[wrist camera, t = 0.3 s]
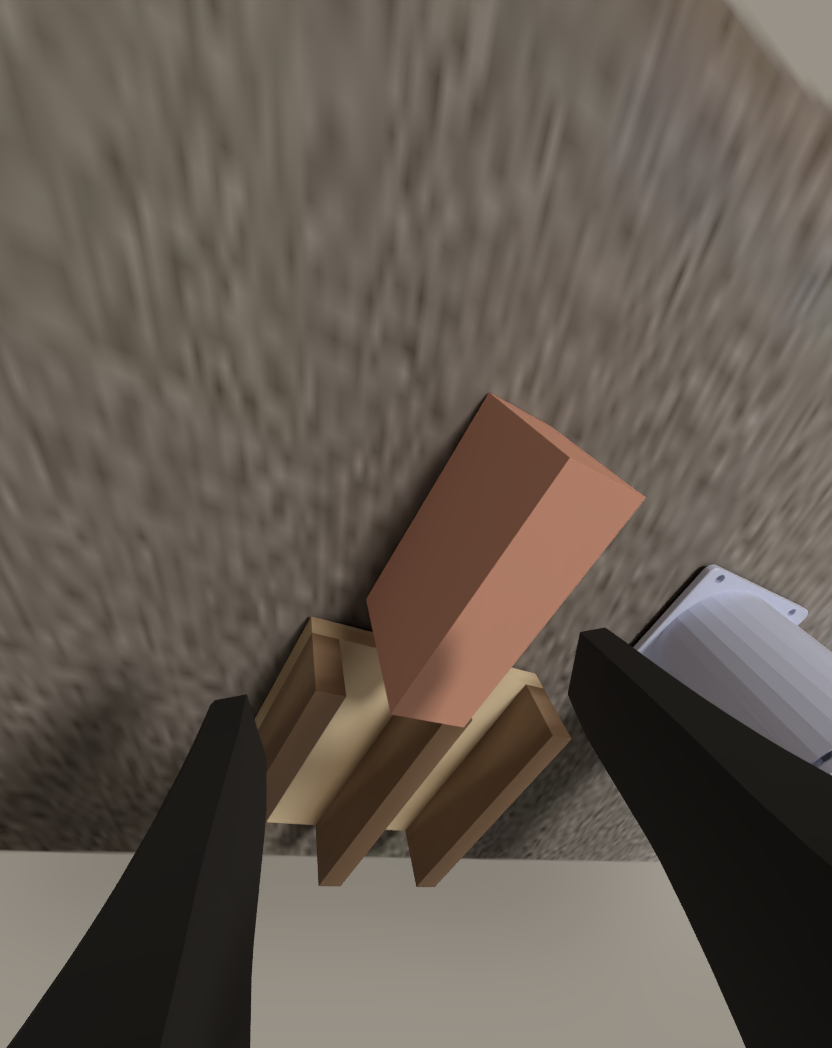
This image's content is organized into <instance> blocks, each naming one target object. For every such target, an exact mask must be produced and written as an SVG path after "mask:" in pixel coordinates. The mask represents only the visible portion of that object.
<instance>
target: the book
mask: <svg viewBox="0 0 832 1048" xmlns="http://www.w3.org/2000/svg"><path fill="white" fill-rule="evenodd" d="M645 498H646V497H644V496H643V495H642V494H640V493H639V492H638V491H636V490H635V489H634V488H632V487H631V486H630V485H628V484H627V483H626V482H624V481H623V480H622V479H620V478H619V477H618V476H616V475H615V474H614V473H612V472H611V471H610V470H608V469H607V468H606V467H604V466H603V465H601V464H600V463H599V462H597V461H596V460H595V459H593V458H592V457H591V456H589V455H588V454H587V453H585V452H584V451H583V450H581V449H580V448H579V447H577V446H576V445H575V444H573V443H572V442H571V441H569V440H568V439H567V438H565V437H564V436H563V435H561V434H560V433H559V432H557V431H556V430H555V429H553V428H552V427H551V426H549V425H547V424H546V423H544V422H542V421H540V420H538V419H537V418H535V417H533V416H531V415H529V414H528V413H526V412H524V411H522V410H520V409H518V408H517V407H515V406H513V405H511V404H509V403H508V402H506V401H504V400H502V399H500V398H499V397H497V396H495V395H493V394H491V393H490V392H489V393H488V395H487V397H486V398H485V400H484V402H483V403H482V405H481V407H480V408H479V410H478V412H477V413H476V415H475V417H474V419H473V420H472V422H471V424H470V425H469V427H468V429H467V430H466V432H465V434H464V435H463V437H462V439H461V440H460V442H459V444H458V445H457V447H456V449H455V450H454V452H453V454H452V455H451V457H450V459H449V461H448V462H447V464H446V466H445V467H444V469H443V471H442V472H441V474H440V476H439V477H438V479H437V481H436V482H435V484H434V486H433V487H432V489H431V491H430V492H429V494H428V496H427V498H426V499H425V501H424V503H423V504H422V506H421V508H420V509H419V511H418V513H417V514H416V516H415V518H414V519H413V521H412V523H411V524H410V526H409V528H408V529H407V531H406V533H405V534H404V536H403V538H402V540H401V541H400V543H399V545H398V546H397V548H396V550H395V551H394V553H393V555H392V556H391V558H390V560H389V561H388V563H387V565H386V566H385V568H384V570H383V571H382V573H381V575H380V577H379V578H378V580H377V582H376V583H375V585H374V587H373V588H372V590H371V592H370V593H369V595H368V597H367V598H366V601H367V606H368V611H369V615H370V620H371V625H372V630H373V634H374V639H375V644H376V648H377V653H378V658H379V662H380V667H381V672H382V676H383V681H384V686H385V690H386V695H387V700H388V705H389V709H390V714H391V715H397V716H403V717H408V718H414V719H419V720H425V721H430V722H436V723H442V724H447V725H453V726H458V727H465V725H466V724H467V723H468V722H469V720H470V719H471V718H472V716H473V715H474V714H475V713H476V711H477V710H478V709H479V708H480V706H481V705H482V704H483V703H484V701H485V700H486V699H487V698H488V696H489V695H490V694H491V693H492V691H493V690H494V689H495V687H496V686H497V685H498V684H499V682H500V681H501V680H502V679H503V677H504V676H505V675H506V674H507V672H508V671H509V670H510V669H511V667H512V666H513V665H514V664H515V662H516V661H517V660H518V658H519V657H520V656H521V655H522V653H523V652H524V651H525V650H526V648H527V647H528V646H529V645H530V643H531V642H532V641H533V640H534V638H535V637H536V636H537V634H538V633H539V632H540V631H541V629H542V628H543V627H544V626H545V624H546V623H547V622H548V621H549V619H550V618H551V617H552V616H553V614H554V613H555V612H556V611H557V609H558V608H559V607H560V605H561V604H562V603H563V602H564V600H565V599H566V598H567V597H568V595H569V594H570V593H571V592H572V590H573V589H574V588H575V587H576V585H577V584H578V583H579V582H580V580H581V579H582V578H583V576H584V575H585V574H586V573H587V571H588V570H589V569H590V568H591V566H592V565H593V564H594V563H595V561H596V560H597V559H598V558H599V556H600V555H601V554H602V552H603V551H604V550H605V549H606V547H607V546H608V545H609V544H610V542H611V541H612V540H613V539H614V537H615V536H616V535H617V534H618V532H619V531H620V530H621V529H622V527H623V526H624V525H625V523H626V522H627V521H628V520H629V518H630V517H631V516H632V515H633V513H634V512H635V511H636V510H637V508H638V507H639V506H640V505H641V503H642V502H643V501H644V500H645Z"/></svg>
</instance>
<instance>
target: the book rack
mask: <svg viewBox="0 0 832 1048" xmlns="http://www.w3.org/2000/svg"><path fill="white" fill-rule="evenodd" d="M255 723H256V726H257V729H258V732H259V735H260V739H261V742H262V745H263V748H264V752H265V755H266V781H267V811H266V822H275V823H290V824H306V825H316V841H317V861H318V882H319V886H341V885H342V884H343V882H344V881H345V880H346V879H347V877H348V876H349V875H350V873H351V872H352V871H353V870H354V869H355V867H356V866H357V865H358V864H359V862H360V861H361V860H362V859H363V857H364V856H365V855H366V854H367V852H368V851H369V850H370V849H371V847H372V846H373V845H374V844H375V842H376V841H377V840H378V838H379V837H380V836H381V835H382V833H383V832H384V831H385V830H399V831H406V836H407V841H408V846H409V852H410V857H411V862H412V866H413V872H414V877H415V882H416V887H435V886H436V885H437V884H438V883H439V882H440V881H441V879H442V878H443V877H444V876H445V875H446V874H447V873H448V872H449V871H450V870H451V869H452V868H453V867H454V865H455V864H456V863H457V862H458V861H459V860H460V859H461V858H462V857H463V856H464V855H465V854H466V852H467V851H468V850H469V849H470V848H471V847H472V846H473V845H474V844H475V843H476V842H477V841H478V840H479V838H480V837H481V836H482V835H483V834H484V833H485V832H486V831H487V830H488V829H489V828H490V827H491V826H492V824H493V823H494V822H495V821H496V820H497V819H498V818H499V817H500V816H501V815H502V814H503V813H504V811H505V810H506V809H507V808H508V807H509V806H510V805H511V804H512V803H513V802H514V801H515V800H516V799H517V797H518V796H519V795H520V794H521V793H522V792H523V791H524V790H525V789H526V788H527V787H528V786H529V784H530V783H531V782H532V781H533V780H534V779H535V778H536V777H537V776H538V775H539V774H540V773H541V772H542V770H543V769H544V768H545V767H546V766H547V765H548V764H549V763H550V762H551V761H552V760H553V759H554V757H555V756H556V755H557V754H558V753H559V752H560V751H561V750H562V749H563V748H564V747H565V746H566V745H567V743H568V742H569V741H570V740H571V737H570V735H569V733H568V732H567V730H566V728H565V726H564V724H563V723H562V721H561V719H560V717H559V715H558V714H557V712H556V710H555V708H554V706H553V705H552V703H551V701H550V699H549V698H548V696H547V694H546V692H545V690H544V689H543V687H542V685H541V683H540V681H539V680H538V678H537V676H536V674H534V673H530V672H526V671H523V670H519V669H515V668H511V669H510V670H509V671H508V672H507V674H506V675H505V676H504V677H503V679H502V680H501V681H500V682H499V684H498V685H497V686H496V687H495V689H494V690H493V691H492V693H491V694H490V695H489V696H488V698H487V699H486V700H485V701H484V703H483V704H482V705H481V706H480V708H479V709H478V710H477V711H476V713H475V714H474V715H473V716H472V718H471V719H470V720H469V722H468V723H467V724H466V725H465V727H458V726H453V725H447V724H442V723H436V722H430V721H425V720H419V719H414V718H408V717H403V716H397V715H391V714H390V709H389V705H388V700H387V695H386V690H385V686H384V681H383V676H382V672H381V667H380V662H379V658H378V653H377V648H376V644H375V639H374V634H373V632H370V631H366V630H362V629H359V628H355V627H351V626H347V625H343V624H339V623H335V622H331V621H327V620H323V619H320V618H316V617H312V616H311V617H310V619H309V621H308V623H307V625H306V627H305V628H304V630H303V632H302V634H301V636H300V637H299V639H298V641H297V643H296V645H295V647H294V648H293V650H292V652H291V654H290V656H289V657H288V659H287V661H286V663H285V665H284V667H283V668H282V670H281V672H280V674H279V676H278V677H277V679H276V681H275V683H274V685H273V687H272V688H271V690H270V692H269V694H268V696H267V697H266V699H265V701H264V703H263V705H262V707H261V708H260V710H259V712H258V714H257V716H256V717H255ZM266 822H265V823H266Z"/></svg>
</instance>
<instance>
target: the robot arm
mask: <svg viewBox="0 0 832 1048" xmlns="http://www.w3.org/2000/svg"><path fill="white" fill-rule="evenodd" d="M807 615H808V611H807V610H806V609H805V608H803V607H802V606H800V605H798V604H796V603H794V602H792V601H789V600H787V599H785V598H783V597H781V596H779V595H777V594H775V593H773V592H771V591H769V590H767V589H765V588H763V587H761V586H758V585H756V584H754V583H752V582H750V581H748V580H746V579H744V578H742V577H740V576H738V575H736V574H734V573H732V572H730V571H727V570H725V569H723V568H721V567H719V566H717V565H709V566H707V567H706V568H704V569H703V570H702V571H701V573H700V574H699V575H698V576H697V577H696V578H695V579H694V580H693V581H692V583H691V584H690V585H689V586H688V587H687V588H686V589H685V590H684V591H683V593H682V594H681V595H680V596H679V597H678V598H677V599H676V600H675V601H674V603H673V604H672V605H671V606H670V607H669V608H668V609H667V610H666V611H665V612H664V614H663V615H662V616H661V617H660V618H659V619H658V620H657V621H656V622H655V624H654V625H653V626H652V627H651V628H650V629H649V630H648V631H647V632H646V634H645V635H644V636H643V637H642V638H641V639H640V640H639V641H638V642H637V644H636V645H635V646H634V647H632V646H630V645H629V644H627V643H626V642H625V641H623V640H622V639H621V638H619V637H618V636H616V635H615V634H614V633H612V632H611V631H609V630H608V629H606V628H600V629H595V630H589V631H584V632H580V635H579V640H578V645H577V650H576V655H575V660H574V665H573V670H572V675H571V680H570V685H569V690H568V696H569V698H570V700H571V703H572V705H573V707H574V710H575V712H576V714H577V717H578V719H579V721H580V723H581V725H582V727H583V730H584V732H585V734H586V736H587V738H588V740H589V741H590V743H591V745H592V747H593V748H594V750H595V752H596V754H597V755H598V757H599V759H600V760H601V762H602V764H603V765H604V767H605V769H606V770H607V772H608V774H609V775H610V777H611V779H612V780H613V782H614V784H615V785H616V787H617V789H618V790H619V792H620V794H621V795H622V797H623V799H624V800H625V802H626V804H627V805H628V807H629V809H630V810H631V812H632V814H633V815H634V817H635V819H636V820H637V822H638V824H639V825H640V827H641V829H642V830H643V832H644V834H645V835H646V837H647V839H648V840H649V842H650V844H651V846H652V848H653V849H654V851H655V853H656V855H657V857H658V858H659V860H660V862H661V864H662V866H663V868H664V870H665V872H666V874H667V876H668V878H669V880H670V882H671V884H672V886H673V889H674V891H675V893H676V895H677V897H678V898H679V901H680V903H681V905H682V907H683V909H684V911H685V913H686V915H687V917H688V919H689V921H690V923H691V926H692V928H693V930H694V932H695V934H696V937H697V939H698V941H699V943H700V945H701V947H702V949H703V952H704V953H705V956H706V958H707V960H708V962H709V964H710V967H711V969H712V971H713V973H714V976H715V978H716V980H717V982H718V985H719V987H720V989H721V992H722V994H723V996H724V998H725V1001H726V1003H727V1005H728V1007H729V1010H730V1012H731V1014H732V1017H733V1019H734V1021H735V1023H736V1026H737V1028H738V1030H739V1032H740V1035H741V1037H742V1040H743V1042H744V1044H745V1047H746V1048H832V652H831V651H829V650H828V649H827V648H826V647H824V646H823V645H822V644H820V643H819V642H818V641H817V640H815V639H814V638H813V637H811V636H810V635H809V634H808V633H806V632H805V631H804V630H802V629H801V628H800V627H799V626H797V625H799V624H800V623H801V622H802V621H803V620H804V619H805V618H806V617H807ZM266 811H267V781H266V755H265V752H264V748H263V745H262V742H261V739H260V735H259V732H258V729H257V726H256V723H255V719H254V716H253V713H252V710H251V707H250V703H249V700H248V697H247V695H241V696H236V697H231V698H225V699H220V700H215V701H214V702H213V703H212V704H211V705H210V707H209V710H208V712H207V714H206V717H205V719H204V721H203V723H202V726H201V728H200V730H199V732H198V734H197V737H196V739H195V741H194V743H193V745H192V747H191V749H190V751H189V753H188V756H187V758H186V760H185V762H184V764H183V766H182V768H181V770H180V772H179V774H178V776H177V778H176V780H175V781H174V783H173V785H172V787H171V789H170V791H169V793H168V795H167V797H166V799H165V801H164V802H163V804H162V806H161V808H160V810H159V812H158V814H157V816H156V818H155V819H154V821H153V823H152V825H151V827H150V828H149V830H148V832H147V834H146V835H145V837H144V839H143V840H142V842H141V844H140V846H139V847H138V849H137V851H136V853H135V854H134V856H133V858H132V859H131V861H130V863H129V865H128V866H127V868H126V870H125V872H124V873H123V875H122V877H121V879H120V880H119V882H118V883H117V885H116V887H115V888H114V890H113V891H112V893H111V895H110V896H109V898H108V900H107V901H106V903H105V904H104V906H103V908H102V909H101V911H100V912H99V914H98V915H97V917H96V919H95V920H94V922H93V923H92V925H91V926H90V928H89V929H88V931H87V932H86V934H85V936H84V937H83V938H82V940H81V942H80V943H79V945H78V946H77V948H76V949H75V951H74V952H73V954H72V955H71V957H70V958H69V960H68V961H67V963H66V964H65V966H64V967H63V969H62V970H61V971H60V973H59V974H58V976H57V977H56V979H55V980H54V982H53V983H52V984H51V986H50V987H49V989H48V990H47V991H46V993H45V994H44V996H43V997H42V999H41V1000H40V1002H39V1003H38V1004H37V1006H36V1007H35V1009H34V1010H33V1011H32V1013H31V1014H30V1016H29V1017H28V1019H27V1020H26V1021H25V1023H24V1024H23V1026H22V1027H21V1029H20V1030H19V1031H18V1033H17V1034H16V1035H15V1037H14V1038H13V1039H12V1041H11V1042H10V1044H9V1045H8V1046H7V1048H250V1025H251V1024H250V1023H251V975H252V959H253V945H254V934H255V923H256V913H257V903H258V894H259V884H260V873H261V864H262V854H263V843H264V833H265V822H266Z"/></svg>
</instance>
